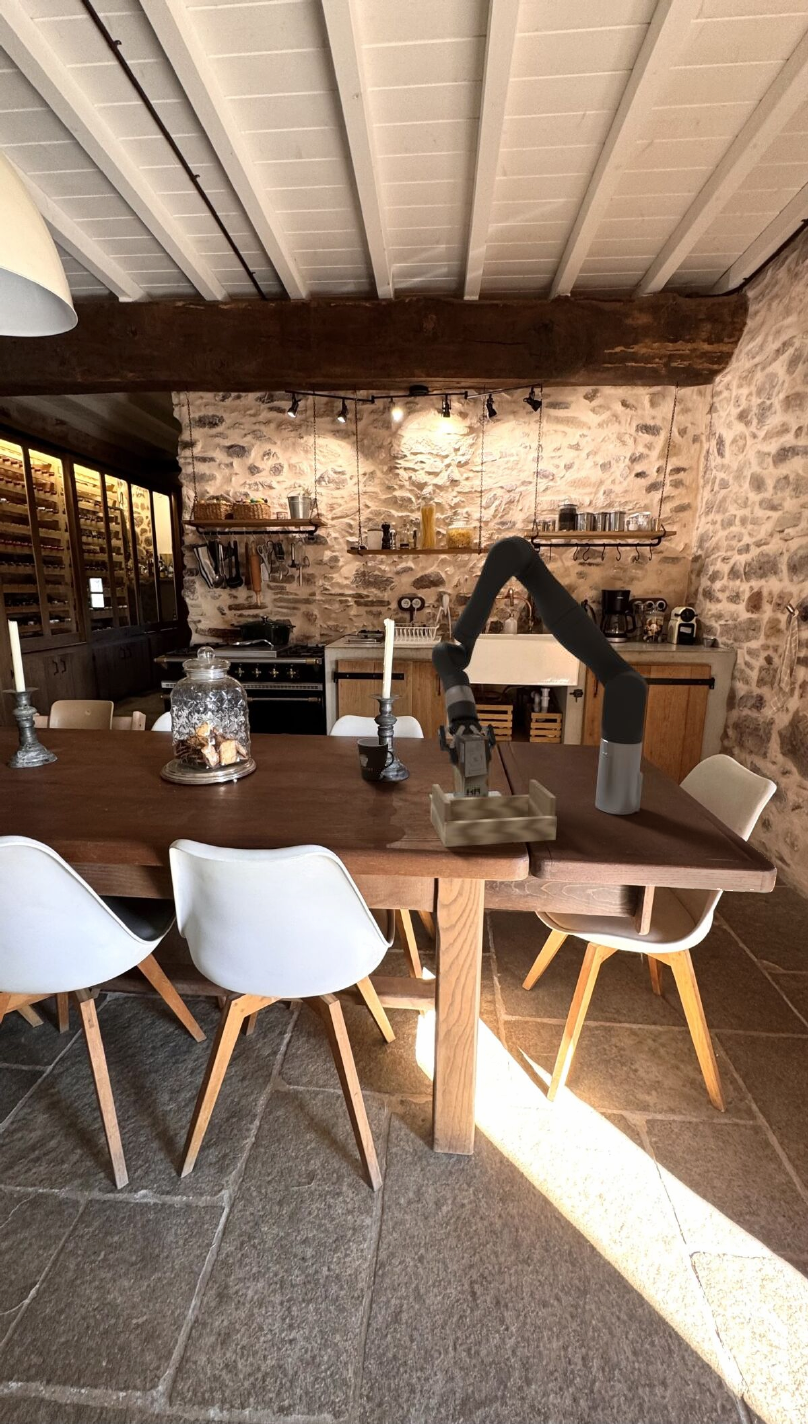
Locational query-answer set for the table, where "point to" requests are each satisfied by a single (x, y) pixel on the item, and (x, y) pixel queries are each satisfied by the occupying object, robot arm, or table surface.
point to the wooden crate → (494, 817)
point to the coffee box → (471, 766)
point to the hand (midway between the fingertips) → (471, 763)
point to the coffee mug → (373, 758)
